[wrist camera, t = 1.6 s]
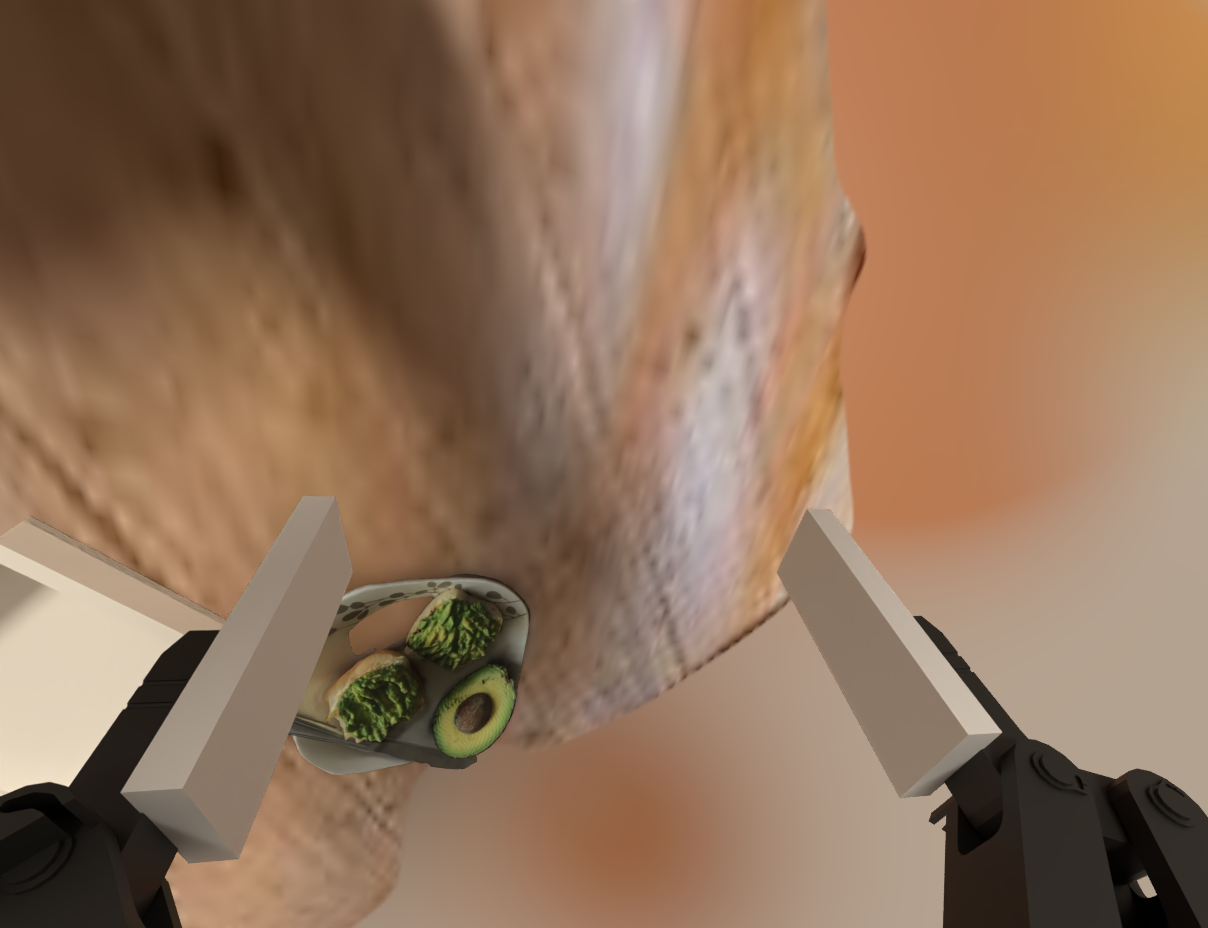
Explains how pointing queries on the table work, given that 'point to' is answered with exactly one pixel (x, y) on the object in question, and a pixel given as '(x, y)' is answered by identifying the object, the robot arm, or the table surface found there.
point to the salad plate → (416, 679)
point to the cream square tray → (73, 649)
